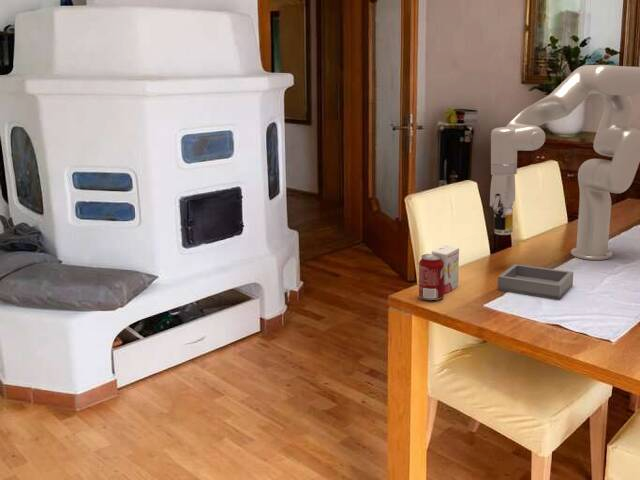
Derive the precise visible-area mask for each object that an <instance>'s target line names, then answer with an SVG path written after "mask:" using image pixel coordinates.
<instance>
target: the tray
mask: <svg viewBox="0 0 640 480" xmlns="http://www.w3.org/2000/svg"><path fill="white" fill-rule="evenodd" d="M573 282H574V271H570V270H569V271H567V270H562V269H554V268H548V267H540V266H532V265H525V264H517V263H514V264H512V265H511V266H510V267H509V268H507V269H506V270H505V271H503V272H502V273H501V274H499V275H498V277H497V290H498V291H501V292H507V293H513V294H521V295H525V296H526V295H527V296H532V297H537V298H544V299H551V300H558V301H560V300H561V299H562V298H563V297H564V295H565V294H566V293H568V291H569V290H570V289H571V287H573V285H574V283H573Z"/></svg>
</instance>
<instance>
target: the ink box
mask: <svg viewBox="0 0 640 480" xmlns="http://www.w3.org/2000/svg"><path fill="white" fill-rule="evenodd" d="M431 254H438V255H441V256H442V260H443V262H444V294H445V295H447V294H448V293H450V292H451V291H452V290H454V289H456V288H457V287H459V271H460V270H459V268H460V267H459V266H460V264H459V261H460V248H459V247H456V246H451V245H446V244H445V245H442V246H440V247H437V248H436V249H435V248H434V249H433V250H431Z"/></svg>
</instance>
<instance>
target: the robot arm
mask: <svg viewBox="0 0 640 480" xmlns="http://www.w3.org/2000/svg"><path fill="white" fill-rule="evenodd" d="M591 95H600V96H601V98H602V101H603V113H602V116H601V119H600V122H599V124H598V128H597V130H596V134H595V137H594V139H593V146H592V147H593V150H594V151H595V153H597V154H599V155H601V156H606V157H611V158H612V160H607V159H602V158H590V159H587V160H585V161H584V162H583V163H582V164H581V165H580V166H579V168H578V172H577V181H578V187H579V189H578V190H579V203H578V204H579V206H578V217H577V219H578V220H577V235H576V247H574V248H572V249H571V250H570V254H571V255H572V256H573V257H576V258H578V259H582V260H583V259H584V260H590V261H591V260H594V261H601V260H608V259H611V258H612V257H613V252H612V250H610V249H609V235H610V225H611V224H610V223H611V213H612V211H611V210H612V199H611V194H610V193H612V194H622V193H624V192H626V191H627V190H628V189H629V188H630V186H631V185H632V184H633V182H634V179H635V176H636V174H637V170H638V168H639V165H640V130H639V129H637V128H634V127H630V125H631V121H632V117H633V115H634V114H633V113H634V106H633V103H632V99H631V97H635V96H638V95H640V67H639V66H623V65H622V66H621V65H619V66H618V65H610V64H587V65H586V64H585V65H581V66H579V67H577V68H576V69H574V70H573V71H572V72H571V73H570V74H569V75H568V76H567V77H566V78H565V79H564V80H563V81H562V82H561V83H560V84H559V85H558V86H557V87H556V88H554V89H553V91H552V92H551V93H549V94H548V95H547V96H545V97H543V98H541V99H540V100H538V101H536V102H535V103H533V104H531V105H529V106H527V107H526V108H524V109H523V110H522V111H520V112H519V113H518V114H517V115H516V116H515V117H513V119H512V120H510V121H509V122H508V124H507V125H506V126H503V127H501V126H500V127H496V128H493V129H492V130H491V133H490V175H491V182H490V190H489V191H490V192H489V207H491V208H492V210H493V212H494V215H493V216H494V227H495V229H496V230H505V221H506V217H504V215H505V208H506V207H507V206H509V205H510V209H511V210H512V211H514V209H513V205H514V204H513V203H515V201H516V176H515V175H517V174H518V172H517V171H518V151H526V152H527V151H529V152H530V151H536V150H538V149H540V148H541V147H542V146H543V145H544V143H545V142H546V133H545V131H544V129H542V128H541V126H542V125H545V124H546V123H550V122H553V121H557V120H561V119H563V118H565V117H568V116H569V115H571V113H573V112H574V110H576V108H577V107H579V106H580V105H581V104H582V103H583V102H584V101H585V100H586V99H587V98H588V97H589V96H591ZM499 205H503V206H502V207H499ZM499 209H502V212H501V210H499Z"/></svg>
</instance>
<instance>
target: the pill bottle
mask: <svg viewBox="0 0 640 480" xmlns="http://www.w3.org/2000/svg"><path fill="white" fill-rule="evenodd" d="M502 206H503V205H499V207H502ZM499 210H501V212H502V209H499ZM513 211H514V210H513ZM513 211H512V210H511V209H510V205H509V206H507V207H506V208H505V215H504V217H506V221H505V230H496V229H495V226H494V227H493V228H494V230H493V231H494V234H495V235H499V236H508V235H512V234H513V220H514V219H513V217H514V216H513Z"/></svg>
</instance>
